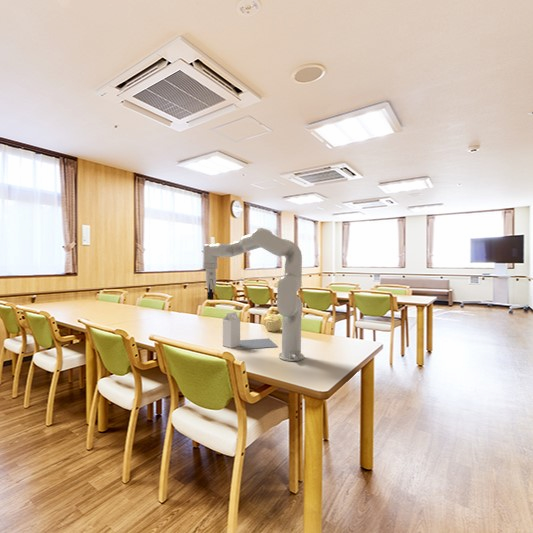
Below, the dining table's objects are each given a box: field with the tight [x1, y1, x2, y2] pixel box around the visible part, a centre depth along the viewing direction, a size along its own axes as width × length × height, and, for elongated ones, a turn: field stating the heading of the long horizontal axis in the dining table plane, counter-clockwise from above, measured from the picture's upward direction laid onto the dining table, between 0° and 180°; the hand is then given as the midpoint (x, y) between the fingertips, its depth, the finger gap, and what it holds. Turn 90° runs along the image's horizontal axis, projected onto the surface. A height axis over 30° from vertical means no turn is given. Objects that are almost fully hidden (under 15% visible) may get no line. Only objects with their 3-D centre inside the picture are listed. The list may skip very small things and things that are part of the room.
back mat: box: [239, 337, 278, 350], centre depth 179 cm, size 18×20×1 cm
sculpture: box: [263, 315, 282, 333], centre depth 213 cm, size 11×12×11 cm
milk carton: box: [222, 311, 241, 349], centre depth 174 cm, size 7×7×19 cm
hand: (210, 299), depth 171 cm, fingers closed
